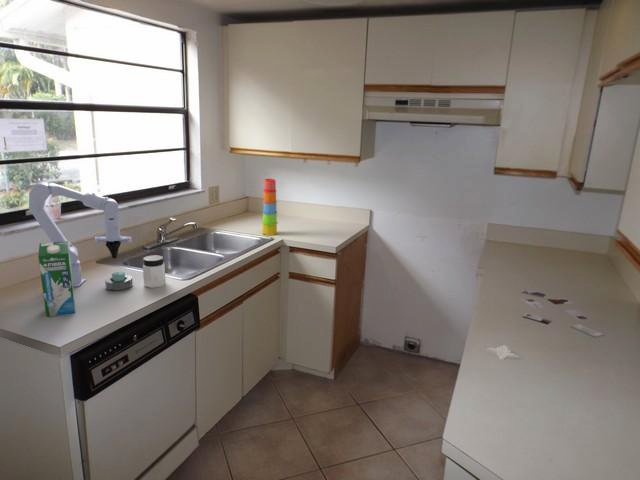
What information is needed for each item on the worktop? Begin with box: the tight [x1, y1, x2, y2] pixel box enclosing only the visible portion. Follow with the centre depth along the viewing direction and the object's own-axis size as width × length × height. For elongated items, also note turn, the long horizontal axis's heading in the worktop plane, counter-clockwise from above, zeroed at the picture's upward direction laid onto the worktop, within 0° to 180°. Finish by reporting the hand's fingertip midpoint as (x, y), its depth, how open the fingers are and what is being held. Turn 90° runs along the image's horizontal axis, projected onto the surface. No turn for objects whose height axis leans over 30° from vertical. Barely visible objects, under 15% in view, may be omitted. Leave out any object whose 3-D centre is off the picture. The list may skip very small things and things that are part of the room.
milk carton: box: [38, 240, 76, 318], centre depth 161 cm, size 9×9×25 cm
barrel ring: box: [104, 274, 133, 292], centre depth 188 cm, size 10×10×3 cm
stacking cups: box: [261, 178, 279, 236], centre depth 278 cm, size 10×10×35 cm
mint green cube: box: [111, 271, 126, 282], centre depth 187 cm, size 5×5×4 cm
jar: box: [142, 254, 167, 289], centre depth 190 cm, size 9×8×12 cm
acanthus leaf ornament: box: [486, 345, 520, 361], centre depth 146 cm, size 8×7×2 cm
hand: (114, 257), depth 194 cm, fingers closed
